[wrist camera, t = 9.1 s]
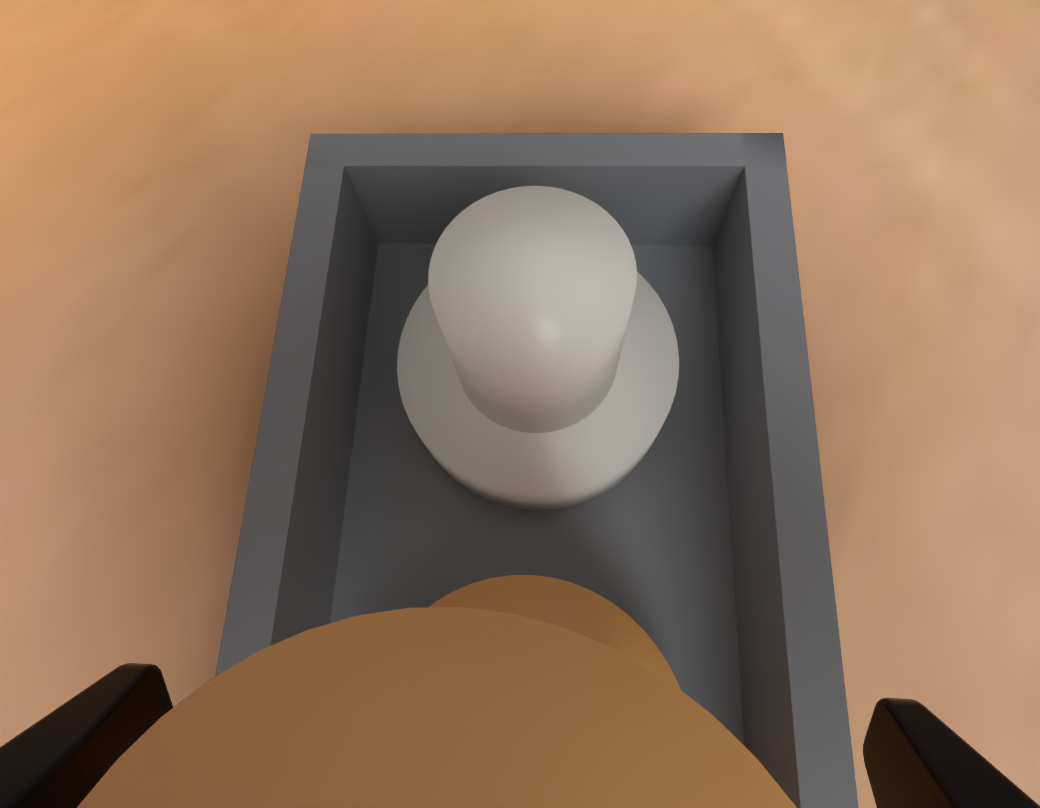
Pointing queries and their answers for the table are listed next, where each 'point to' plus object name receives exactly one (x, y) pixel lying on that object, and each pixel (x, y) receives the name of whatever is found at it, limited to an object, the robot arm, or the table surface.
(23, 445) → the table surface
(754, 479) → the grey storage tray
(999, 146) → the table surface
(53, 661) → the table surface
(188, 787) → the mushroom shaped handle
